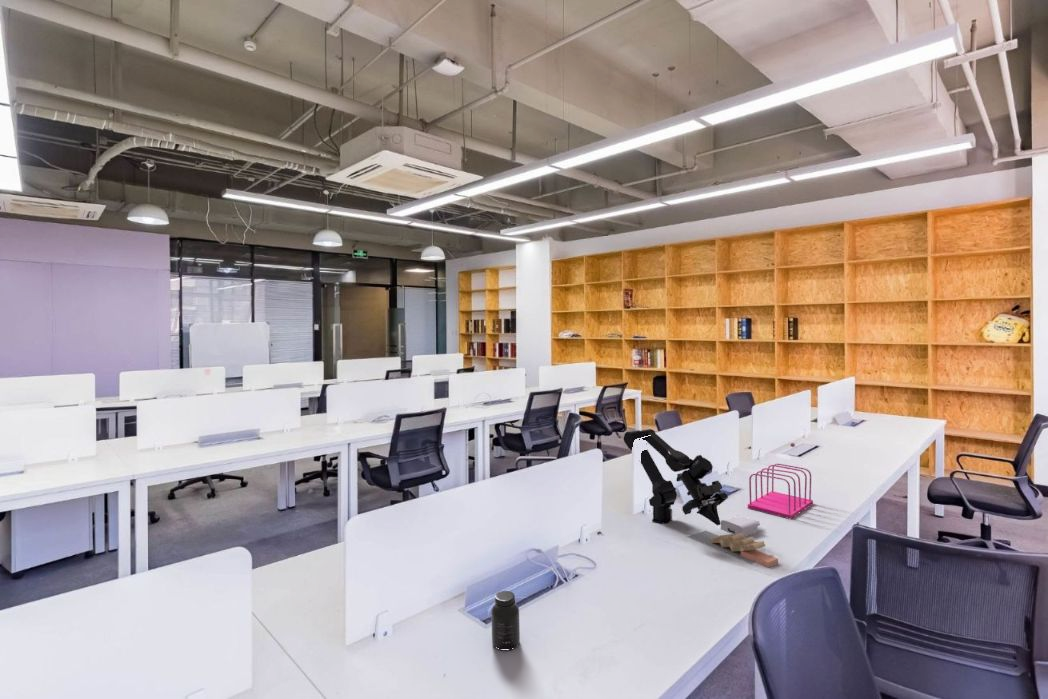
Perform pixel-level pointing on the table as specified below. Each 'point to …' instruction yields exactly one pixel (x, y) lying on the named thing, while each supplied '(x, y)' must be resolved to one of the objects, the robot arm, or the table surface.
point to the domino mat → (717, 545)
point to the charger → (740, 525)
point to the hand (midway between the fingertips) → (719, 524)
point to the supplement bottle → (505, 621)
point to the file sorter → (780, 495)
